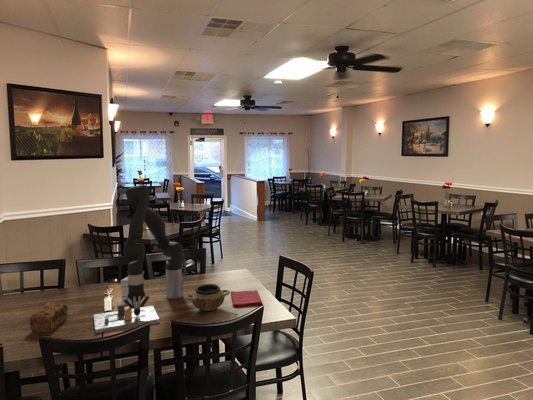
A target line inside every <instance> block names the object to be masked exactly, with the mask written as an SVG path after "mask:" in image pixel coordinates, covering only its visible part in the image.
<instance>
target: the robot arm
mask: <svg viewBox="0 0 533 400" xmlns="http://www.w3.org/2000/svg"><path fill="white" fill-rule="evenodd" d="M150 194H151V193H150V190H149V187H148V186H147V185H146V184H139V185H136V186H135V185H134V186H131V187H128V188H127V189H126V191H125V197H126V200H127V201H128V203H129V204H130V205H131V207H133V209H134V210H135V213H134V214H133V216H132V217H131V219H130V222H129V226H128V235H127V239H126V242H125V244H124V247H123V252H122V253H123V256H124V257H125V258H127V259H129V258H132V259H133V258H136V260H134V261H131V262H129V263H128V264H127V275H128V276H127V277H128V297H126V298H124V302H125V303H126V304H127V305H126V306H129V307H130V308H131V309H134V314H135V315H136V316H139V314H140V308H141V307H145V306H146V305H145V304H147V302H148V301H149V299H150V295H148V294H146V293H145V288H144V287H145V286H144V285H145V283H144V282H145V280H144V271H143V267H144V266H143V263H144V258H145V255H146V246H145V244H144V243H141V242H140V243H139V242H138V241H141V240H142V239H143V237H144V224H145V226H146V227H147V229H148V231H149V232H150V234H152V236H153V237H154V239H155V240H156V242H157V244H158V247H159V248H160V250H161V252H162V255H164V256H165V257H168V258H170V262H168V263H166V264H165V288H166V298H167V299H169V300H175V299H179V298H184V281H183V279H182V278H183V277H182V276H183V275H182V273H183V272H182V269H183V267H182V265H183V263H184V261H183V258H184V257H183V255H184V249H183V245H182V244H181V243H180V242H177V241H172V240H171V239H170V238H169V236H168V235H167V233H166V223H165V221H164V220H163V218H162V216H161V215H160V213H158V212H157V211H155V210H153V209H152V208H150V207H149V202H150V197H151V195H150ZM135 242H137V243H135ZM129 299H130V300H131V301H132V302H133V304H131V303H130V302H129Z"/></svg>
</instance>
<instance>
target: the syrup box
mask: <svg viewBox="0 0 533 400" xmlns="http://www.w3.org/2000/svg"><path fill="white" fill-rule="evenodd" d="M120 290H121V302H123V303H124V306H128V305H127V304H126V303H125V302H124V298H126V297H128V276H126V277H125V278H123V279H121V280H120ZM129 302H130V303H131V304H132V305H133V302H132V301H131V300H130V299H129Z"/></svg>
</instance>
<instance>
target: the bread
mask: <svg viewBox="0 0 533 400" xmlns="http://www.w3.org/2000/svg"><path fill="white" fill-rule="evenodd" d="M68 309H69V308H68V305H67V304H66V303H64V302H62V301H59V300H52V301H48V302H47V303H45V304H44V305H43V306H42V307H41V308H39V309H38V310H36V311H35V312H34V313H33V314H32V315H31V316H30V318H29V326H30V327H29V329H30V331H31V333H36V332H39V333H52V332H53V331H54V330H56V327H57V328H58V327H59V326H60V325H61V324H62V323H64V321H65V320H66V319H67V317H68V312H69V310H68Z"/></svg>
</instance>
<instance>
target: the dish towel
mask: <svg viewBox="0 0 533 400" xmlns="http://www.w3.org/2000/svg"><path fill="white" fill-rule="evenodd" d="M230 301H231V305H232V307H233V308H243V307H244V308H246V307H248V308H249V307H263V305H264V304H263V301H262V299H261V296H260V294H259V291H258V290H244V291H243V290H242V291H241V290H240V291H234V290H231V291H230Z"/></svg>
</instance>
